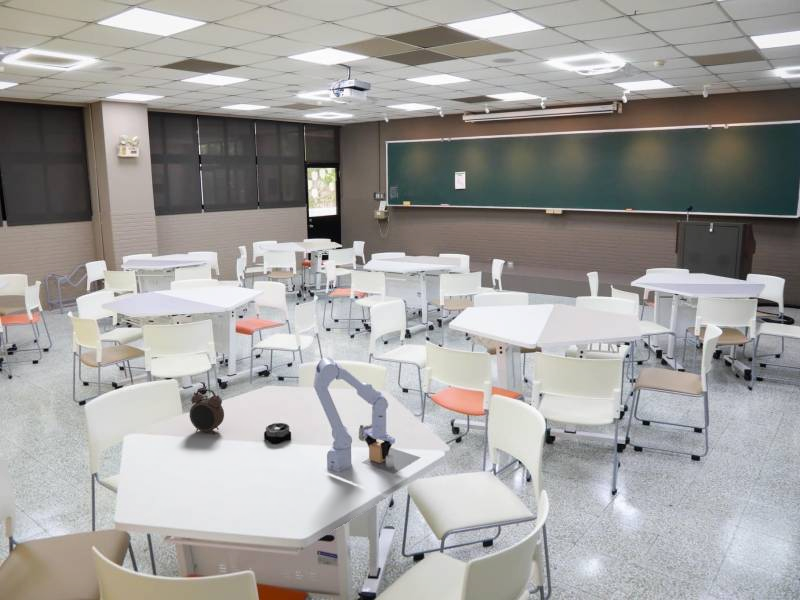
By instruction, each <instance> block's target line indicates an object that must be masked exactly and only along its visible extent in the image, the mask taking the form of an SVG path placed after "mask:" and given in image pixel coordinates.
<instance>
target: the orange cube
mask: <svg viewBox="0 0 800 600" xmlns="http://www.w3.org/2000/svg"><path fill="white" fill-rule="evenodd" d="M383 442H384V441H382V440H376V442H374V443H372V444H370V445H369V447H368V449H369V450H368V459H370V460H372V461H375V462H378V463H381V462H383V461H385V460H386V459H383V457H382V448H381V445H380V444H381V443H383ZM388 455H389V452H388Z"/></svg>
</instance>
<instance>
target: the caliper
mask: <svg viewBox="0 0 800 600" xmlns="http://www.w3.org/2000/svg"><path fill="white" fill-rule="evenodd" d="M366 429H367V430H372V423H371V424H368V425H363V424H361V425H359V429H358V439H362V438H363V437H364V430H366Z"/></svg>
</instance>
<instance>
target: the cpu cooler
mask: <svg viewBox="0 0 800 600" xmlns="http://www.w3.org/2000/svg"><path fill="white" fill-rule="evenodd" d="M263 439H264V440H265V441H267V442H269V443H270V444H272V445H278V444H282V443H284V442H287V441H291V439H292V432H291V431H290V425H289V424H287V423H283V422H277V423H276V422H274V423H271V424H269V425H267V426H266V427H265V431H264V432H263Z"/></svg>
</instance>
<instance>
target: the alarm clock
mask: <svg viewBox="0 0 800 600" xmlns="http://www.w3.org/2000/svg"><path fill="white" fill-rule="evenodd" d="M201 391H206V392H210V393H212V395H211V396H210V397H209V396H208V395H204V394H202V393H199V392H201ZM190 402H191V404H192V406H191V408H190V409H189V419H190V422H191V424H192V426H194V427H195V429H196V430H195V432H196V433H198V431H200V432H205V433H206V432H212V433H213V435H216V433H215V431H214V430H215V429H216V430H217V431H218V430H220V428H218V427H219V426H220V425H221V424H222V423H223V421H224V419H225V410H224V407H223V406H222V403H223V401H222V398H221V397H220V396H219V395H217V394H216V393H215V391H214V390H213V389H209V388H200V389H198V390H197V391H194V392H193V395H192V397H191V401H190Z"/></svg>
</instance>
